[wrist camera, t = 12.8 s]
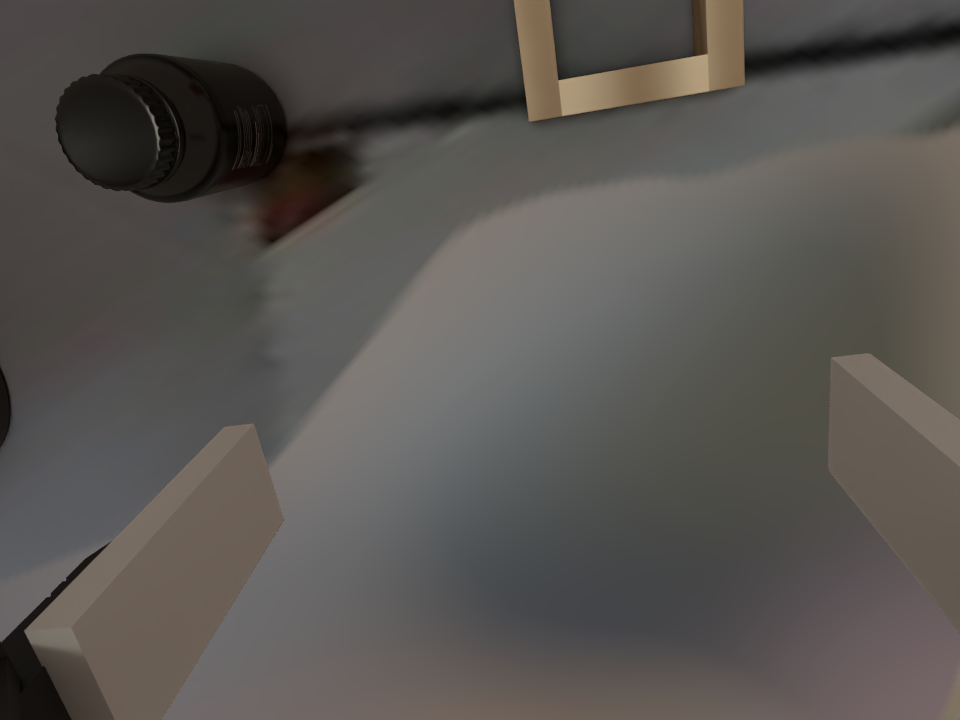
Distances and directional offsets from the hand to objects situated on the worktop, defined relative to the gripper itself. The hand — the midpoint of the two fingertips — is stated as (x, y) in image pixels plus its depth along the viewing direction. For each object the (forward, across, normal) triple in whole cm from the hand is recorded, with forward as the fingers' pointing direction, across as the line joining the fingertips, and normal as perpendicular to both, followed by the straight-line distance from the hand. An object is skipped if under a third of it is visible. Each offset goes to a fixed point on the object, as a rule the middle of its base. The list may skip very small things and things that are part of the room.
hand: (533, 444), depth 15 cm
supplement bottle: (+27, -17, +9) cm, 33 cm away
